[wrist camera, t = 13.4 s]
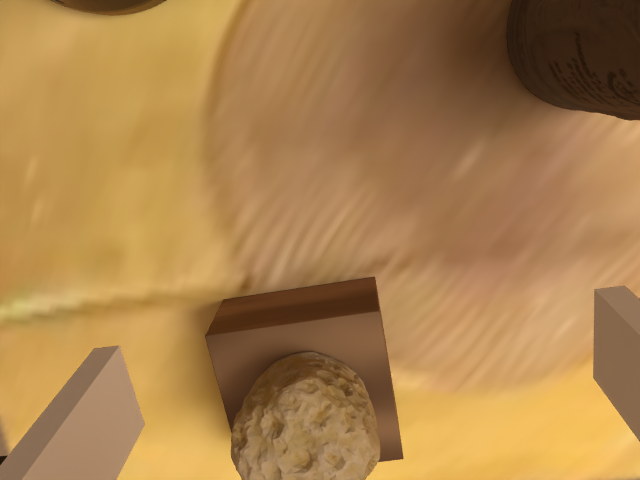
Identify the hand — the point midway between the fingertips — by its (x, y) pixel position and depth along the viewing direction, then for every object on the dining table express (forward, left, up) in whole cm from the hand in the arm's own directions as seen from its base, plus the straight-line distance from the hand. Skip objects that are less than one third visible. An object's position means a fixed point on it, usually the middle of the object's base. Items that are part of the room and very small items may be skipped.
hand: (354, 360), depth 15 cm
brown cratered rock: (+14, -5, -20) cm, 25 cm away
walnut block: (+14, -5, -26) cm, 30 cm away
